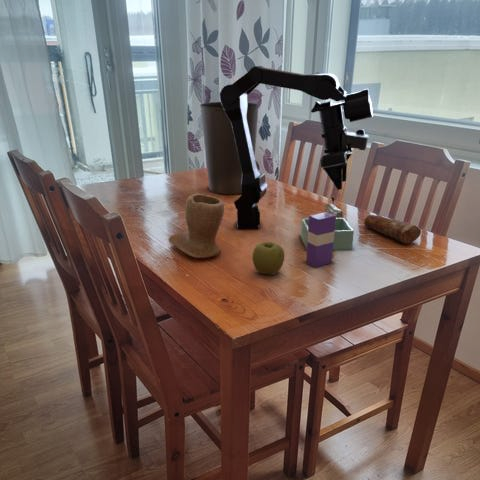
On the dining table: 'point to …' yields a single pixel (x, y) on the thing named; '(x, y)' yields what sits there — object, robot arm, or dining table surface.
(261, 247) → the apple
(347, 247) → the bin
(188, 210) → the stone cup
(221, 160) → the waste basket
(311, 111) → the robot arm
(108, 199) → the dining table surface
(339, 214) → the cuneiform tablet
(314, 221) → the purple tall block
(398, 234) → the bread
